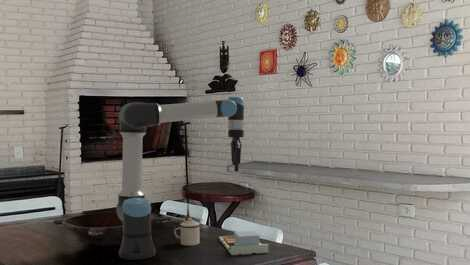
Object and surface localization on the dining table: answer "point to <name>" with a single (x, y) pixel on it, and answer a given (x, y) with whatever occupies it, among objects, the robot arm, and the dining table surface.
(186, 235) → the teacup with lid
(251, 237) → the slate block
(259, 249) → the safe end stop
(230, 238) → the tray
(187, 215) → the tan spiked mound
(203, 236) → the dining table surface
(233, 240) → the trap tiles
